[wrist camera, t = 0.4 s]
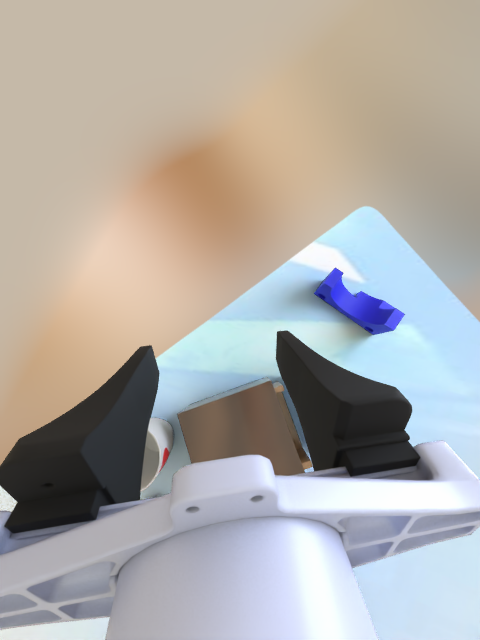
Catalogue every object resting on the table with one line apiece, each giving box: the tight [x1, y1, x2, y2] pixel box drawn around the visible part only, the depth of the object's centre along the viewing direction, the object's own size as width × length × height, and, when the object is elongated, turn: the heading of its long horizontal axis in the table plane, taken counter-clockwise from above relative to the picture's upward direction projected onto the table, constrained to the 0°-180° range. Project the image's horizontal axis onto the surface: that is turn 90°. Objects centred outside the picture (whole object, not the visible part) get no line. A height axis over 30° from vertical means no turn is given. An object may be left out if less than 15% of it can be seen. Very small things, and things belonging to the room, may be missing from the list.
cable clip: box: [314, 268, 405, 335], centre depth 40 cm, size 12×4×6 cm, turn 53°
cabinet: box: [177, 377, 305, 476], centre depth 36 cm, size 13×13×8 cm
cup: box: [140, 418, 174, 492], centre depth 35 cm, size 8×8×10 cm
